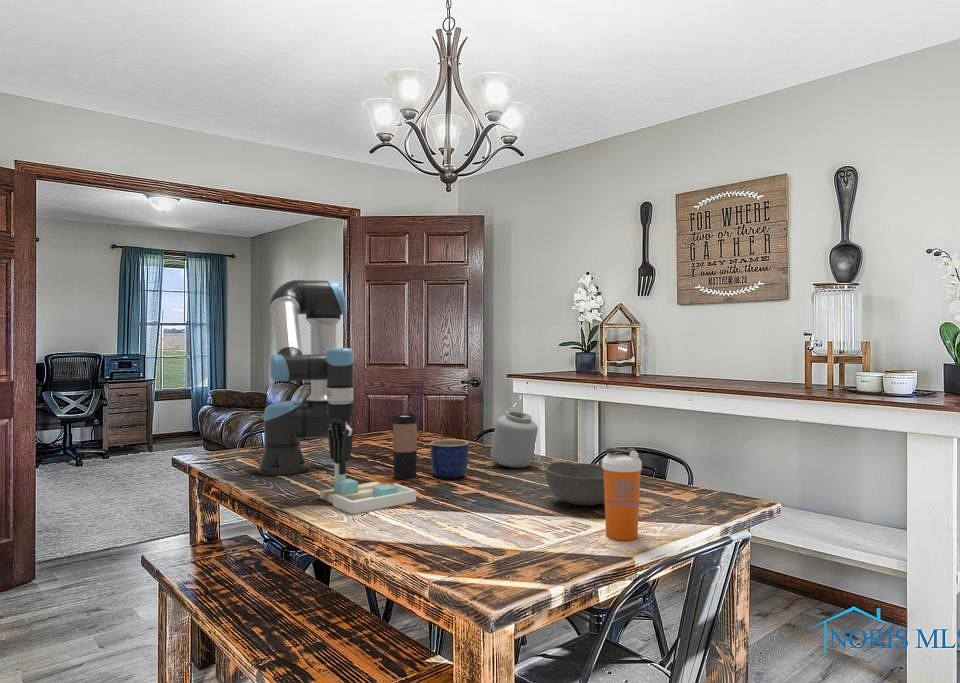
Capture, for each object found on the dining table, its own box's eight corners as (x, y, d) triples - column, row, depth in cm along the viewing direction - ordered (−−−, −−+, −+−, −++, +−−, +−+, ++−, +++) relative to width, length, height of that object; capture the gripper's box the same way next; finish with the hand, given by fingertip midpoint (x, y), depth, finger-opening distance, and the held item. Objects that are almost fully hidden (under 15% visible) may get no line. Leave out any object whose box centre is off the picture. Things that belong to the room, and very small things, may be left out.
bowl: (574, 518, 160) (574, 479, 160) (531, 500, 178) (531, 464, 178) (636, 508, 170) (636, 471, 170) (589, 491, 188) (589, 457, 188)
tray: (332, 505, 173) (332, 494, 173) (396, 493, 186) (395, 483, 185) (352, 514, 164) (352, 502, 164) (417, 501, 177) (417, 490, 177)
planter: (423, 478, 205) (423, 444, 205) (440, 470, 217) (440, 438, 217) (459, 481, 201) (459, 446, 201) (474, 473, 212) (474, 440, 212)
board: (320, 497, 181) (320, 490, 181) (375, 488, 192) (375, 481, 192) (336, 505, 173) (336, 497, 173) (393, 494, 185) (393, 487, 185)
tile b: (333, 491, 180) (333, 481, 180) (349, 489, 183) (349, 478, 183) (342, 495, 176) (342, 484, 176) (358, 492, 179) (358, 481, 179)
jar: (550, 466, 224) (550, 394, 223) (526, 473, 212) (526, 398, 212) (506, 459, 235) (506, 391, 235) (482, 466, 224) (482, 394, 224)
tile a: (372, 497, 179) (372, 486, 179) (388, 494, 182) (388, 484, 182) (382, 501, 175) (382, 490, 175) (397, 498, 178) (397, 487, 178)
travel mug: (412, 480, 203) (412, 417, 203) (389, 478, 204) (389, 416, 204) (419, 474, 210) (419, 414, 210) (397, 473, 212) (397, 413, 212)
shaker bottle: (597, 530, 151) (597, 446, 150) (634, 529, 151) (634, 445, 151) (608, 543, 142) (608, 453, 142) (647, 541, 143) (647, 452, 142)
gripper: (317, 401, 184) (317, 483, 185) (338, 405, 174) (338, 491, 174) (341, 399, 189) (341, 479, 189) (362, 403, 179) (363, 487, 179)
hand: (340, 485), depth 182 cm, fingers closed
